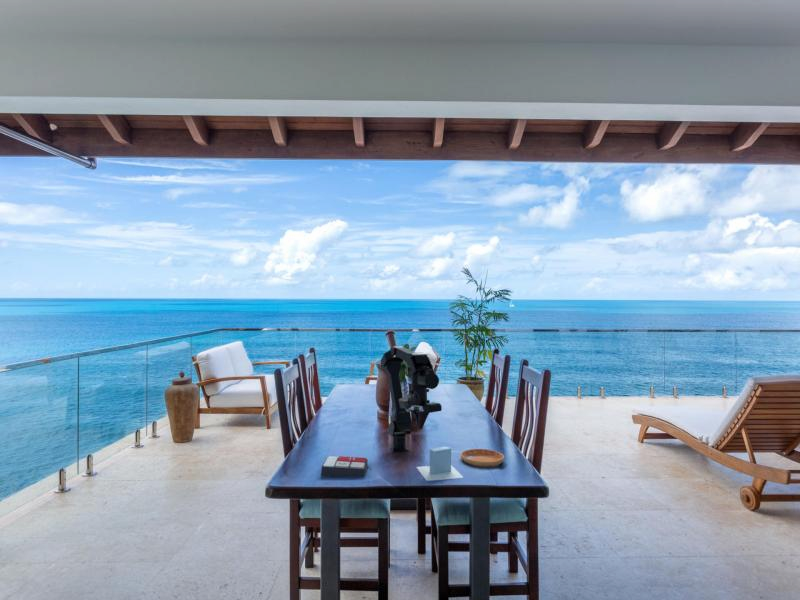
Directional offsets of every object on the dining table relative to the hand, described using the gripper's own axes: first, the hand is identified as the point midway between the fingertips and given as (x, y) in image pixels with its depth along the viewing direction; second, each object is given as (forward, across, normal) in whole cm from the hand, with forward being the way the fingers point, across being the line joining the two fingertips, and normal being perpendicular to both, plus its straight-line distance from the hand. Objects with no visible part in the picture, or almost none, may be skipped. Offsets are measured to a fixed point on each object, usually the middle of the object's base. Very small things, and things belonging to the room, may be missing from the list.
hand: (420, 428), depth 170 cm
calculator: (+13, -10, -27) cm, 31 cm away
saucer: (+14, +12, +20) cm, 27 cm away
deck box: (+13, +12, -1) cm, 17 cm away
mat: (+14, +12, -2) cm, 18 cm away
